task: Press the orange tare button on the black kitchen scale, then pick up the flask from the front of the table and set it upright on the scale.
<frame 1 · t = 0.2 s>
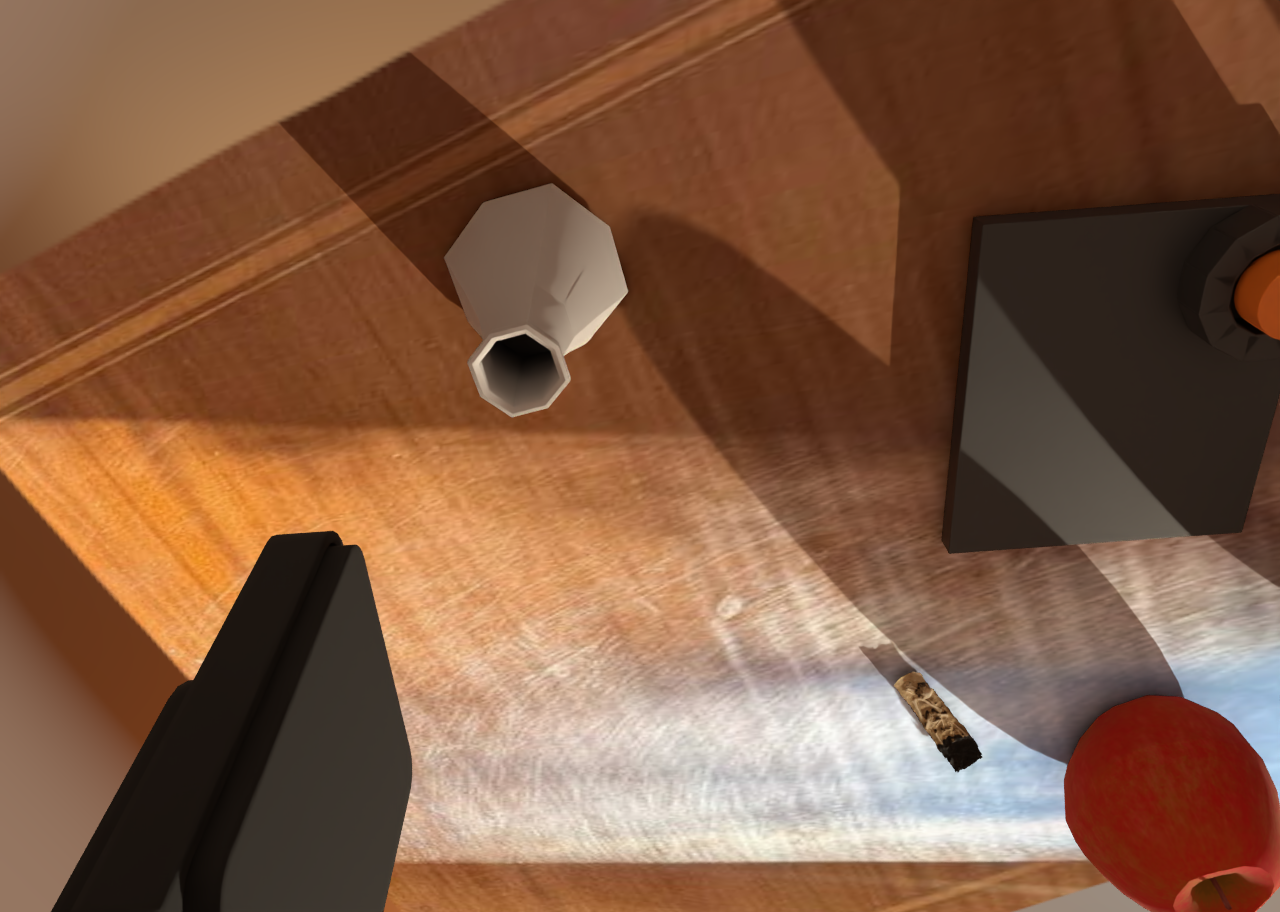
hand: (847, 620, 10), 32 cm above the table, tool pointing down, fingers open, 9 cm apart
scale: (1111, 381, 44), on the table
apple: (1129, 739, 56), on the table
flask: (537, 271, 41), on the table
fossil: (935, 714, 54), on the table
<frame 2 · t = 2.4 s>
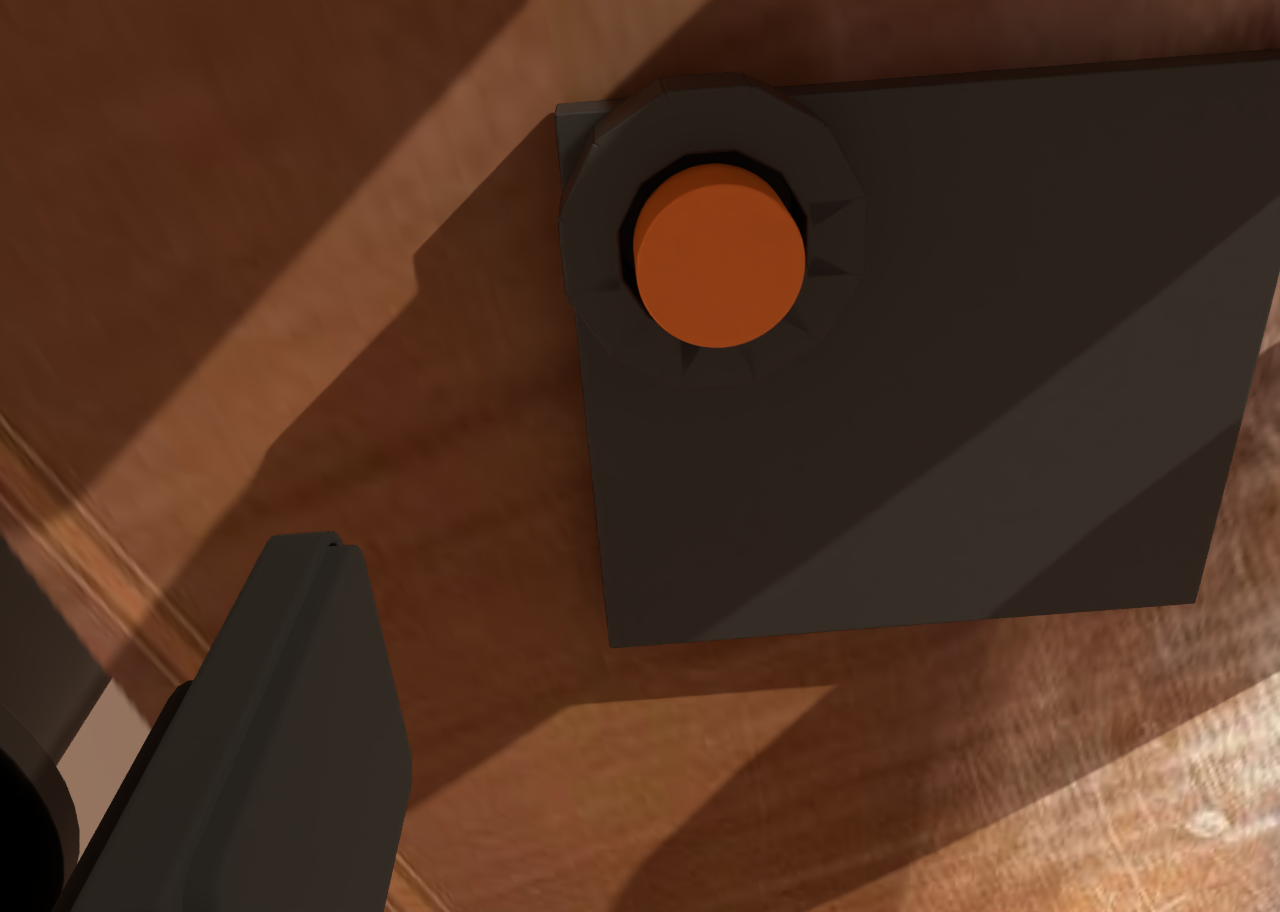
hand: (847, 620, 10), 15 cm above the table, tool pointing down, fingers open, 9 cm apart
scale: (907, 373, 25), on the table
tare button: (716, 255, 19), point 3 cm above the table, slide at 0.1 cm
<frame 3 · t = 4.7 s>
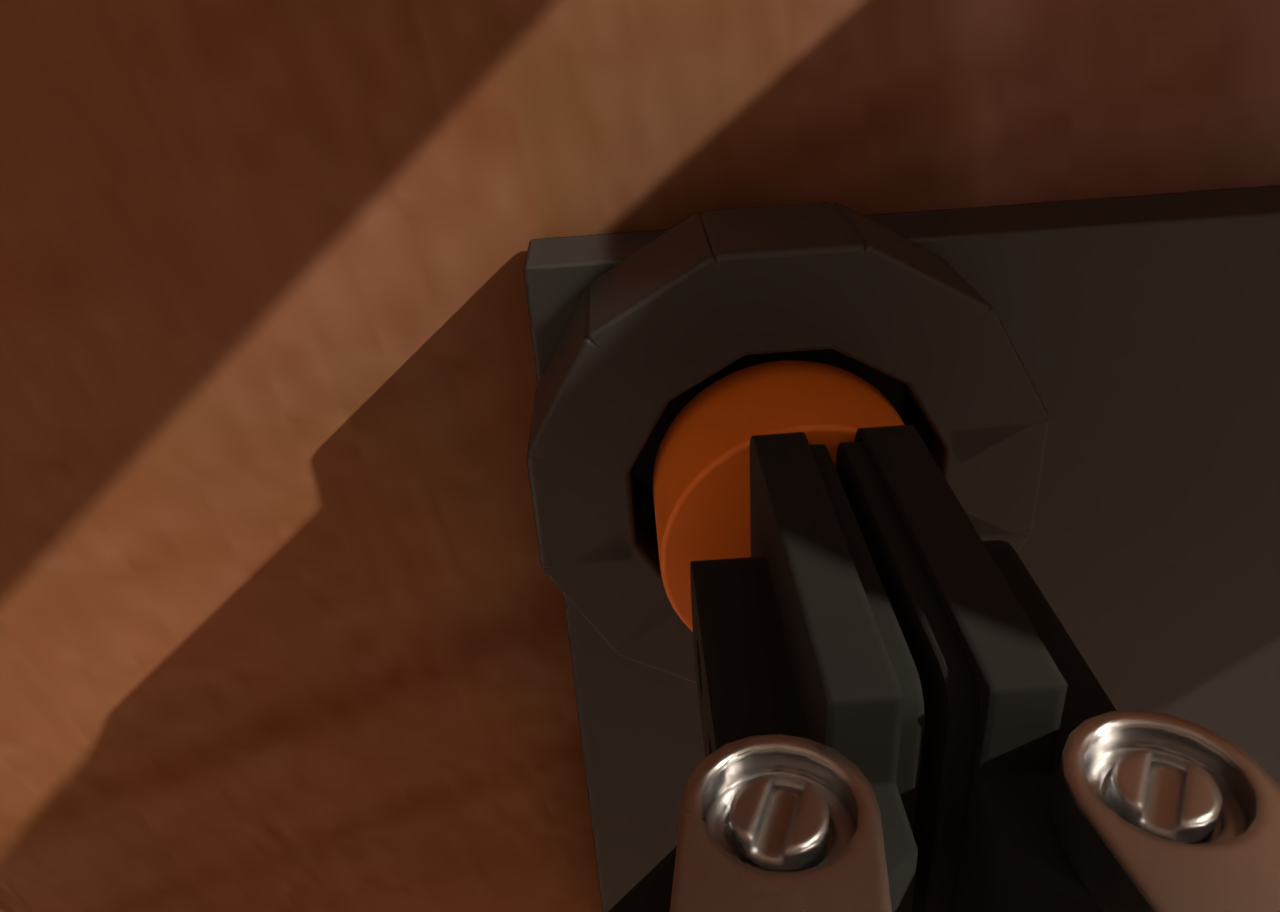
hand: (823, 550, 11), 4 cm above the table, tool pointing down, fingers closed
scale: (1051, 612, 17), on the table
tare button: (793, 514, 11), point 3 cm above the table, slide at 0.0 cm, touching gripper
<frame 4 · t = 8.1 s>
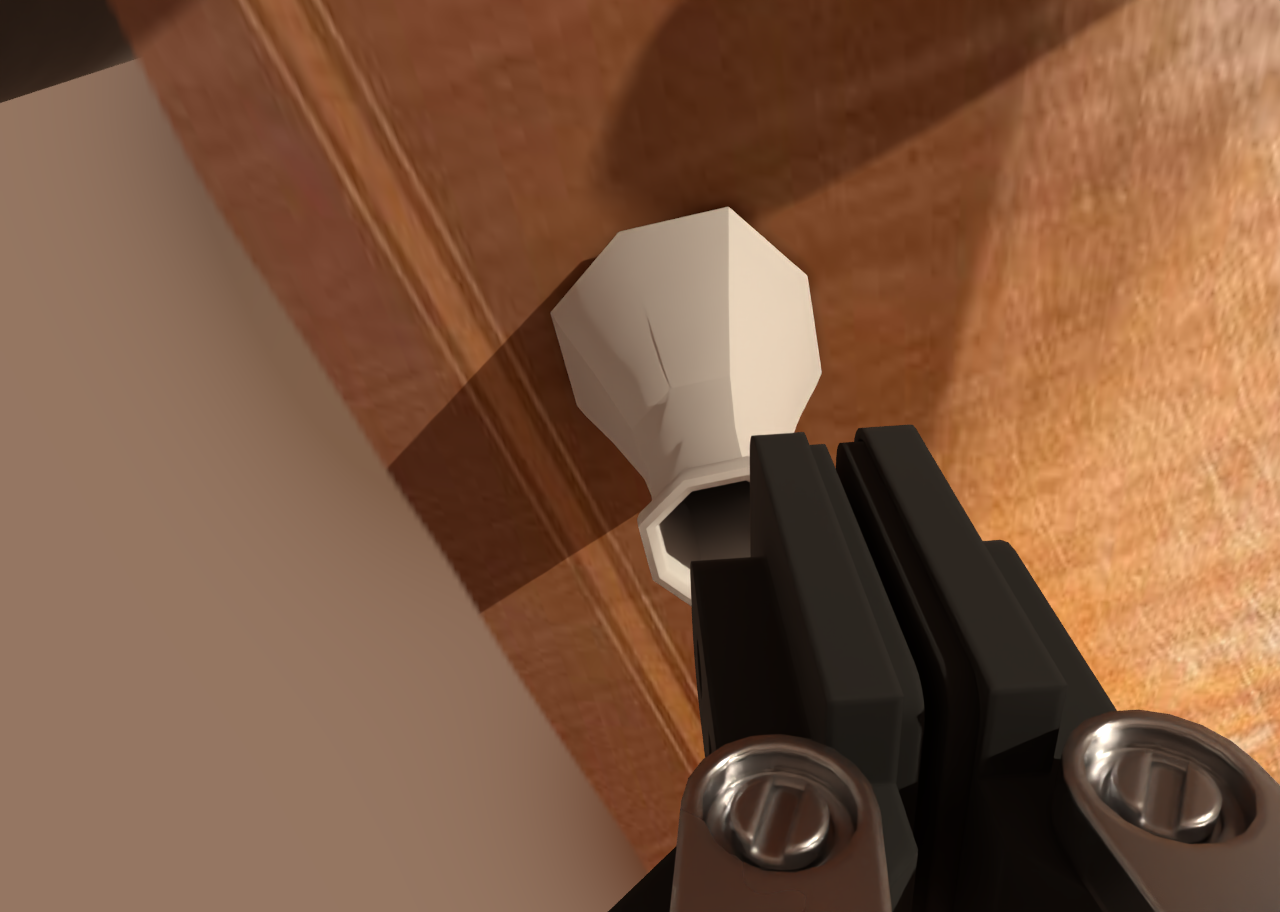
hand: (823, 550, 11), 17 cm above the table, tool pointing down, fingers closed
flask: (687, 336, 27), on the table
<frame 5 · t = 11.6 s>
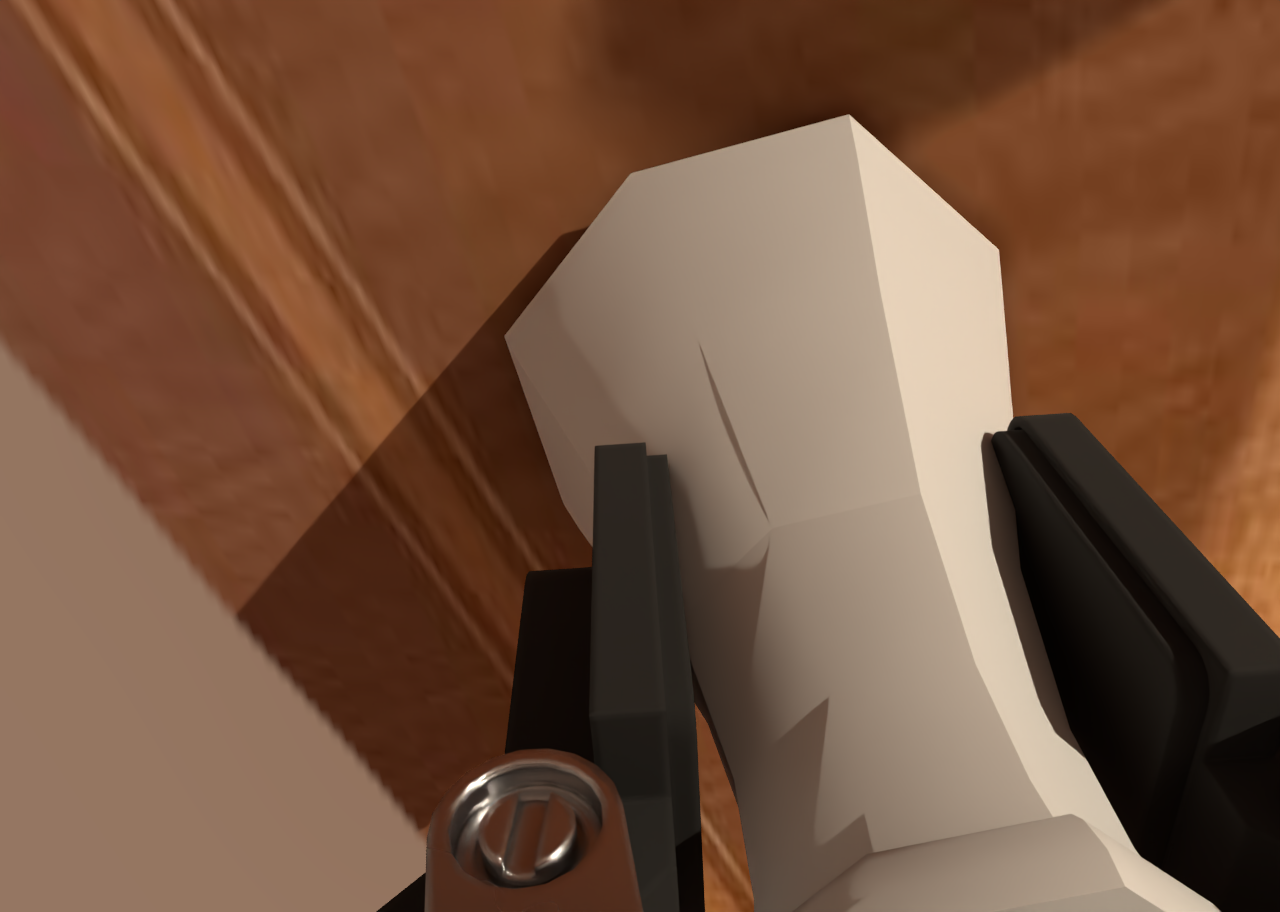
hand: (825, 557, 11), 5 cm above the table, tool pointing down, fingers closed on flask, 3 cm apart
flask: (763, 370, 15), on the table, touching gripper
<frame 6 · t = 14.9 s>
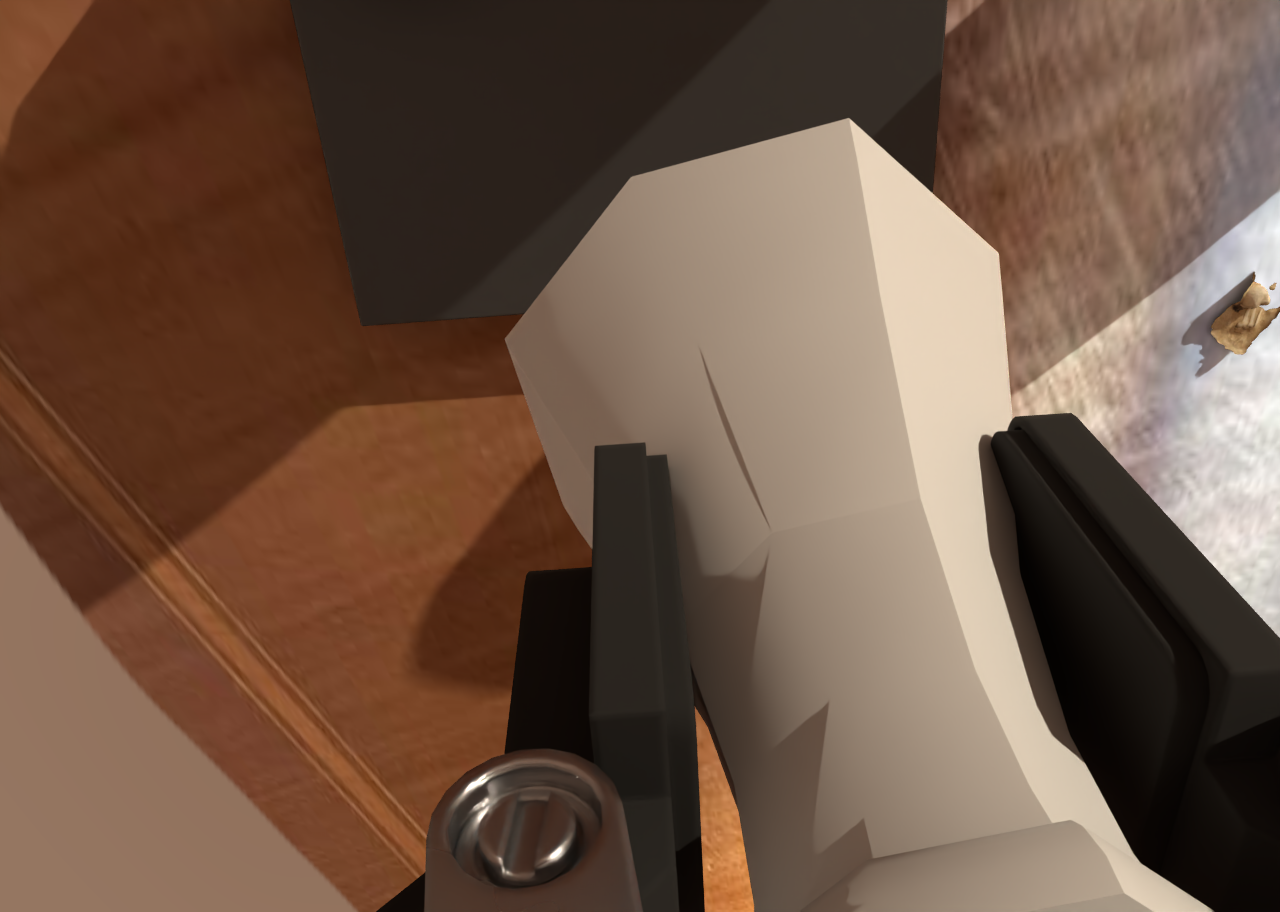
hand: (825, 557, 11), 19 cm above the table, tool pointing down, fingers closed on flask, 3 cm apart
scale: (623, 33, 26), on the table
flask: (763, 373, 15), point 14 cm above the table, touching gripper
when the fingers open (6 cm above the table, at t = 18.5 s): flask stays where it is, resting on scale.
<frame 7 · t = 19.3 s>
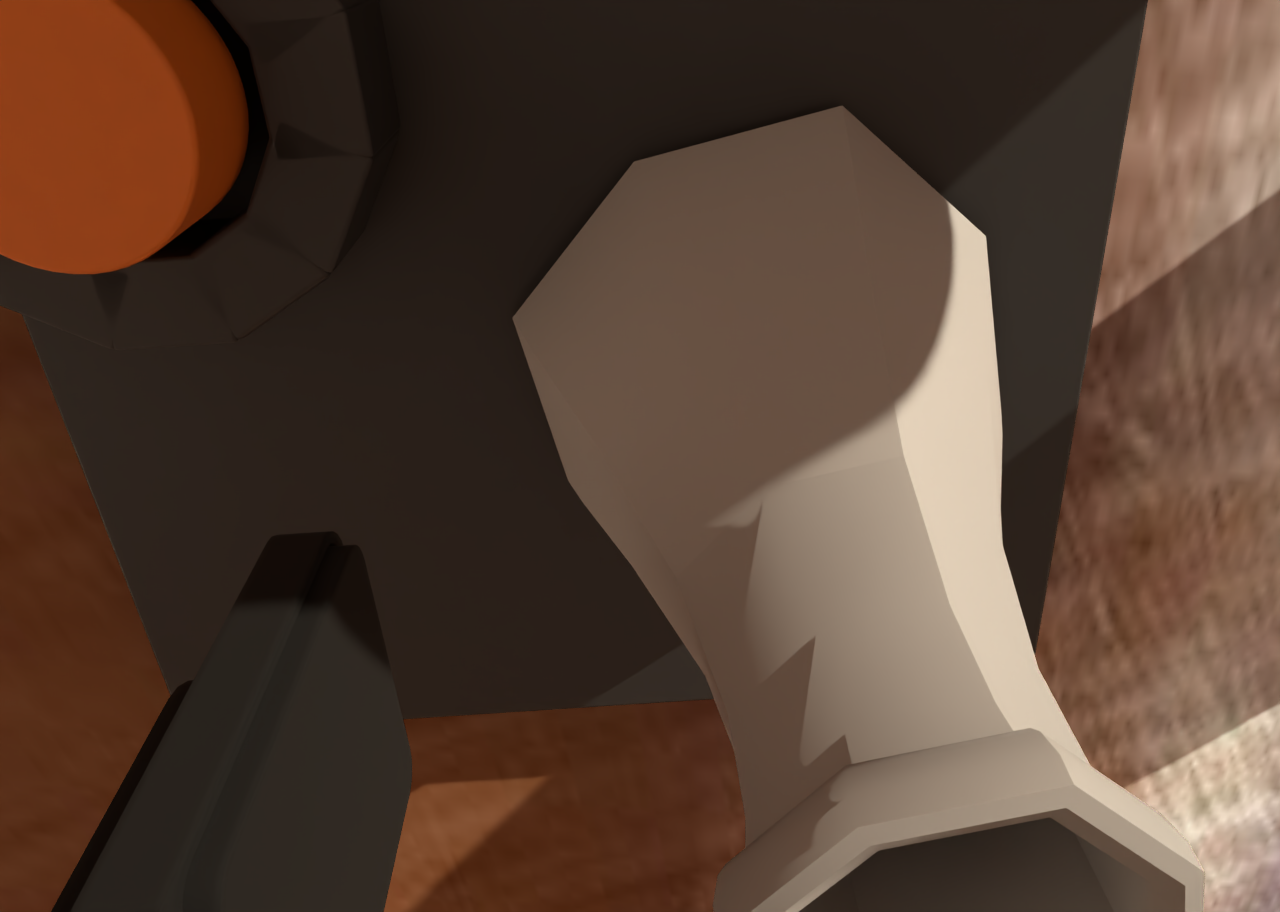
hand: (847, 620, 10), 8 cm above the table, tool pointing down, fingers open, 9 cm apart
scale: (573, 337, 16), on the table
tare button: (78, 112, 11), point 3 cm above the table, slide at 0.1 cm
flask: (760, 352, 15), point 1 cm above the table, touching scale
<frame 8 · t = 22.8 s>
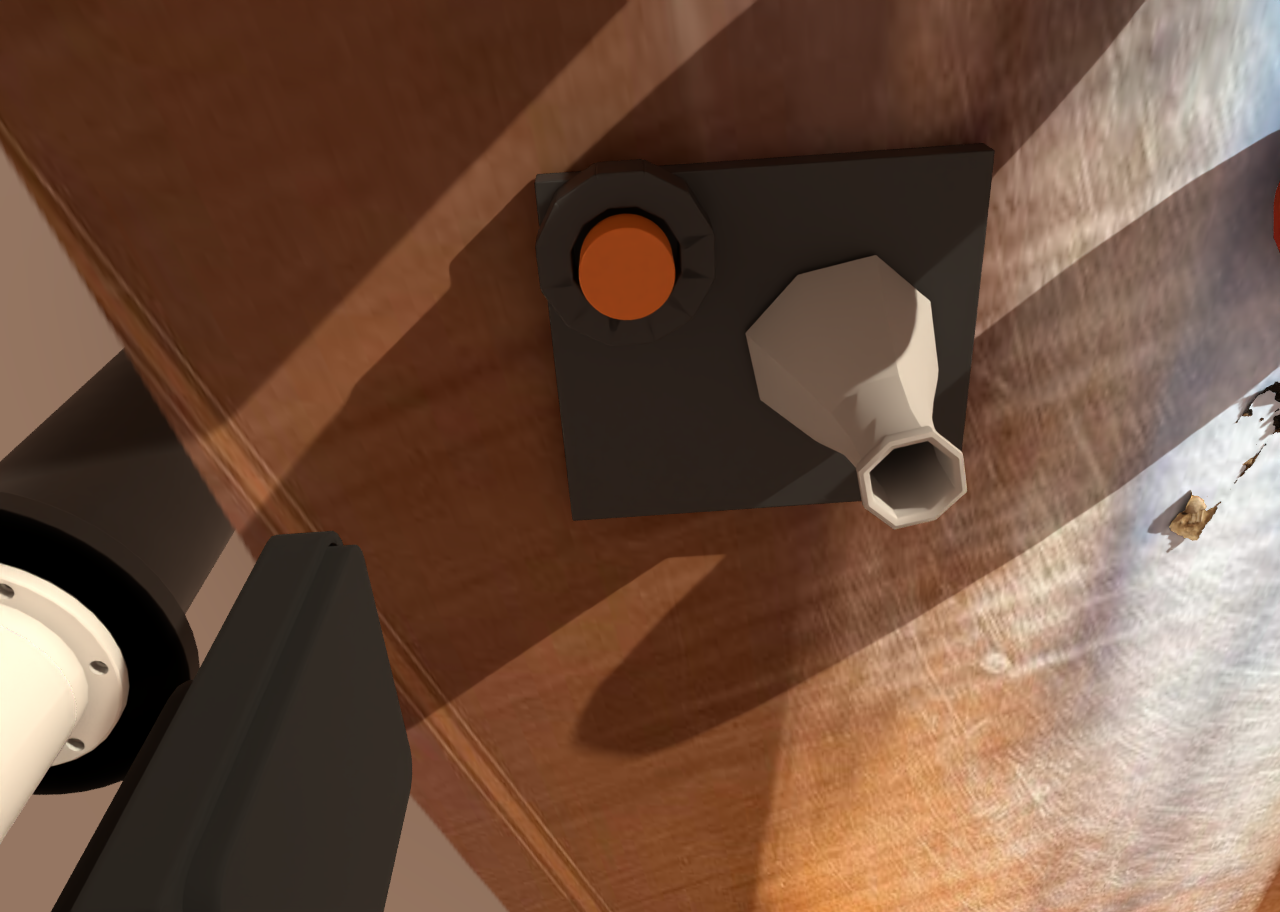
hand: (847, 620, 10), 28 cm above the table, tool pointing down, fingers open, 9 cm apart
scale: (760, 340, 39), on the table
tare button: (626, 266, 33), point 3 cm above the table, slide at 0.1 cm
flask: (840, 346, 38), point 1 cm above the table, touching scale
fossil: (1228, 453, 42), on the table
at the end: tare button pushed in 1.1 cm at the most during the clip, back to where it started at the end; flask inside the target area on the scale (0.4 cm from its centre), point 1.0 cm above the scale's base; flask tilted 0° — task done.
